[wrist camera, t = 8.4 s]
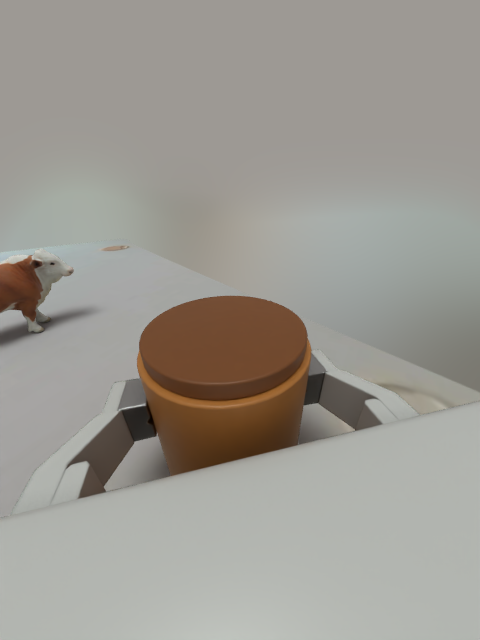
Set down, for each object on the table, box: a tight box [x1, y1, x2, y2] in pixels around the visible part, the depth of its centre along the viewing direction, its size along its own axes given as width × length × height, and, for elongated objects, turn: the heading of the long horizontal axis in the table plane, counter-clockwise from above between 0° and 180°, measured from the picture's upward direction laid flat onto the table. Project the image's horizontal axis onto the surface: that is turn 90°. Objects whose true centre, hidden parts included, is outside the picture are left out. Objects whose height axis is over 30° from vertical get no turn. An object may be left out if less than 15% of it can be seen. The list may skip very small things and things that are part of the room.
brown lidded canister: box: [137, 296, 311, 476], centre depth 10 cm, size 6×6×8 cm
